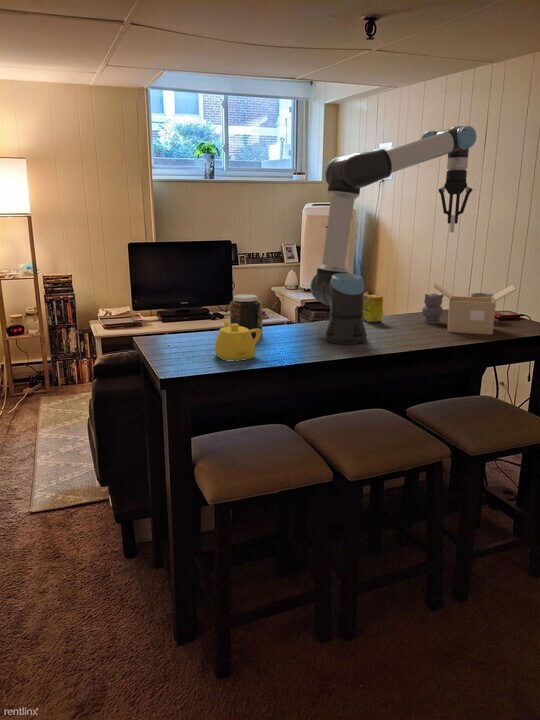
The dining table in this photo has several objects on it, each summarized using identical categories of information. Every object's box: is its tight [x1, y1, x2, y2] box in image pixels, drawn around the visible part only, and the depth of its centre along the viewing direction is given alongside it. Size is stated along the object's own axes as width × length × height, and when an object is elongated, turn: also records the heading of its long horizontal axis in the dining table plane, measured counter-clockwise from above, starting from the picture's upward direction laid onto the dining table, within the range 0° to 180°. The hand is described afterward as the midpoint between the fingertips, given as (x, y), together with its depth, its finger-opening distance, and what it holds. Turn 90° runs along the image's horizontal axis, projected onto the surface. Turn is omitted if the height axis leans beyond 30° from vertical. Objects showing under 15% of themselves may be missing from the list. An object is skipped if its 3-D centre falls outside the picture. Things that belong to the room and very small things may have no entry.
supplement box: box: [363, 294, 384, 324], centre depth 229 cm, size 6×6×11 cm
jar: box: [229, 294, 263, 339], centre depth 205 cm, size 12×12×15 cm
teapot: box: [214, 319, 263, 360], centre depth 178 cm, size 22×16×11 cm
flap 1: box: [433, 281, 452, 300], centre depth 213 cm, size 8×11×1 cm
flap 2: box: [492, 284, 517, 303], centre depth 207 cm, size 8×11×1 cm
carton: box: [446, 295, 497, 335], centre depth 213 cm, size 16×12×12 cm
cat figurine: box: [421, 293, 445, 325], centre depth 227 cm, size 8×8×12 cm
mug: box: [470, 292, 494, 298], centre depth 233 cm, size 12×9×11 cm
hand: (451, 232), depth 220 cm, fingers closed
